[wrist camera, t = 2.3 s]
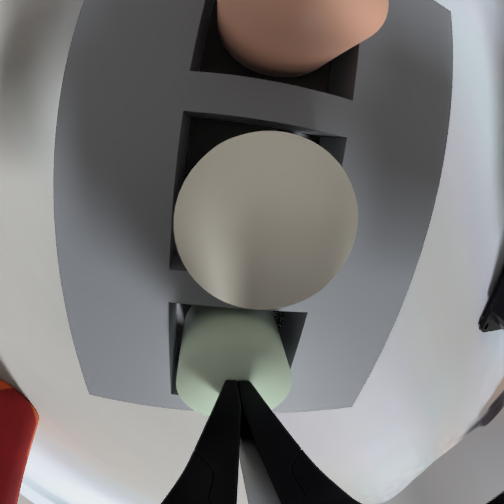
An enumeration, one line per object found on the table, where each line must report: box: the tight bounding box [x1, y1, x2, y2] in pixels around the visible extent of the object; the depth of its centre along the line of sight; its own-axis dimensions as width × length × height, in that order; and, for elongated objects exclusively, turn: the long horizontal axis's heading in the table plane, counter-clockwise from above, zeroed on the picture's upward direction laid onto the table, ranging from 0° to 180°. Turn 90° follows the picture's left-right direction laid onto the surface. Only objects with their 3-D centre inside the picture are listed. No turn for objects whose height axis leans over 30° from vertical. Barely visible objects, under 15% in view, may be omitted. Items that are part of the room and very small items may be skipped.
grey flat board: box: [54, 0, 453, 413], centre depth 9 cm, size 13×19×2 cm
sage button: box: [176, 305, 292, 417], centre depth 11 cm, size 4×4×4 cm
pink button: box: [217, 0, 389, 77], centre depth 5 cm, size 4×4×4 cm
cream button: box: [174, 131, 358, 310], centre depth 8 cm, size 4×4×4 cm
